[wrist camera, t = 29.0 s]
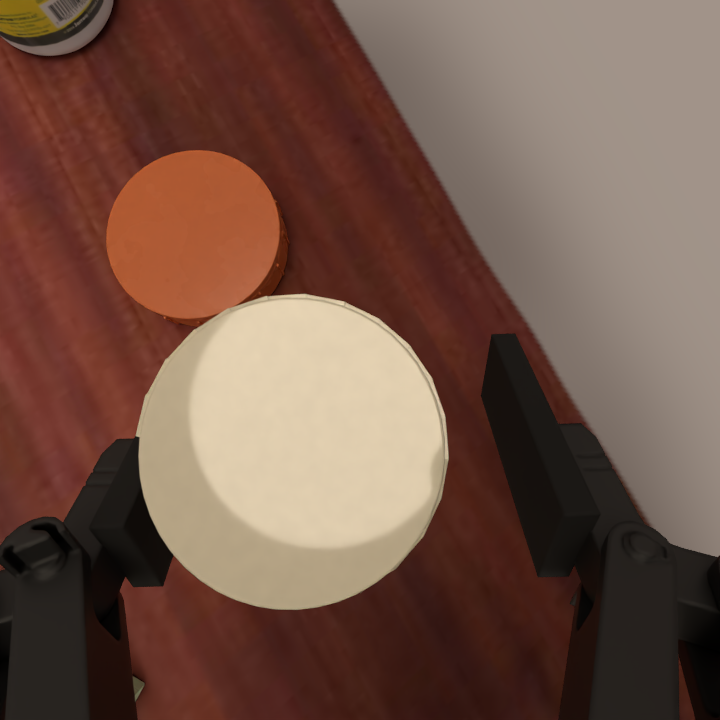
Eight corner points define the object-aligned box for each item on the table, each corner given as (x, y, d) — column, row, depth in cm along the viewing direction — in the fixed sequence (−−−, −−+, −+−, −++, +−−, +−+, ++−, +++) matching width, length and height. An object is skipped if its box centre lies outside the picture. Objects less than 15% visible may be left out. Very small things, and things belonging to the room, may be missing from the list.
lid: (147, 163, 21) (125, 139, 19) (301, 183, 20) (293, 160, 19) (115, 315, 20) (88, 305, 18) (274, 338, 20) (264, 331, 18)
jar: (422, 369, 19) (482, 321, 9) (393, 518, 19) (421, 658, 8) (279, 339, 20) (172, 259, 9) (245, 486, 19) (89, 580, 9)
